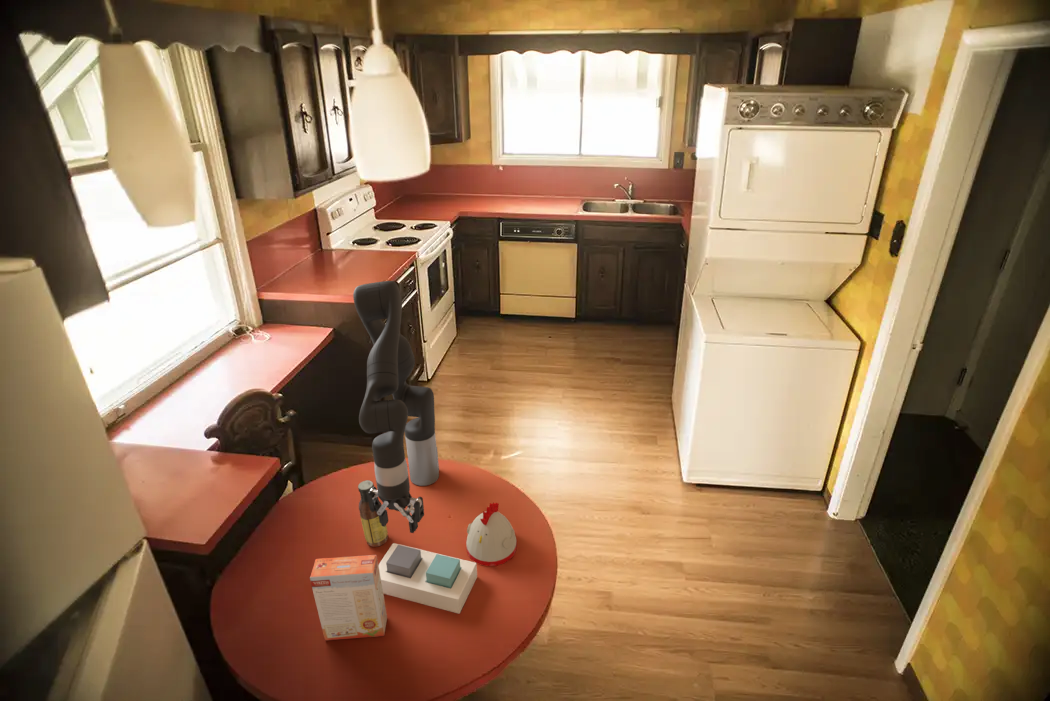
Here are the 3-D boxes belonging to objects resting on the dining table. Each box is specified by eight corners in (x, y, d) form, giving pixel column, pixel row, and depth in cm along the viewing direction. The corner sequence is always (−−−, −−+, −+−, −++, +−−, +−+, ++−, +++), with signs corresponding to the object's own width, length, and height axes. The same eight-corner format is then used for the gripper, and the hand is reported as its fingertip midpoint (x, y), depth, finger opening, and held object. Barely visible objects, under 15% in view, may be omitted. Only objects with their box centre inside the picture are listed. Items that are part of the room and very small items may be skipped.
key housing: (395, 556, 163) (393, 542, 161) (477, 576, 157) (476, 562, 155) (372, 590, 153) (370, 576, 151) (459, 613, 147) (458, 599, 144)
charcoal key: (399, 555, 158) (398, 544, 156) (421, 561, 156) (420, 550, 155) (387, 574, 153) (386, 562, 151) (410, 580, 151) (409, 568, 149)
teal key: (437, 565, 155) (436, 553, 153) (460, 570, 153) (459, 559, 152) (427, 584, 150) (425, 572, 148) (450, 590, 148) (449, 578, 146)
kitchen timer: (456, 554, 164) (453, 512, 157) (483, 522, 175) (481, 482, 168) (500, 573, 158) (499, 530, 151) (525, 539, 169) (524, 497, 162)
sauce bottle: (391, 532, 171) (383, 477, 162) (384, 548, 166) (375, 493, 157) (369, 531, 172) (359, 476, 163) (361, 547, 166) (351, 491, 157)
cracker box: (387, 615, 146) (377, 553, 137) (384, 637, 141) (373, 574, 131) (329, 619, 146) (315, 556, 136) (324, 641, 140) (308, 577, 131)
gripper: (426, 470, 142) (432, 523, 149) (373, 459, 146) (381, 511, 153) (412, 490, 136) (418, 544, 143) (356, 478, 139) (365, 531, 147)
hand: (399, 527), depth 148 cm, fingers open, 7 cm apart
